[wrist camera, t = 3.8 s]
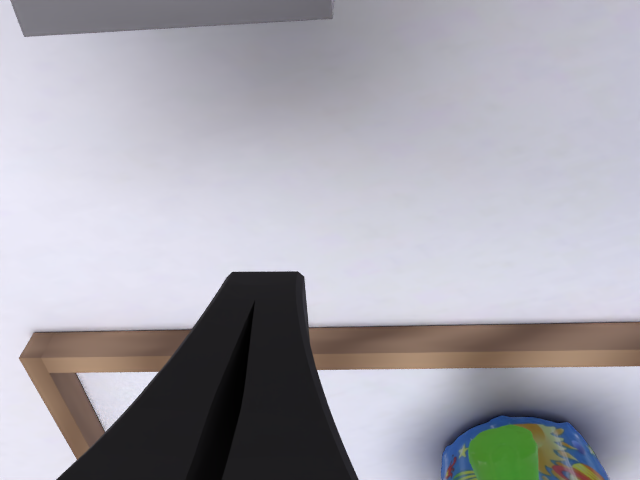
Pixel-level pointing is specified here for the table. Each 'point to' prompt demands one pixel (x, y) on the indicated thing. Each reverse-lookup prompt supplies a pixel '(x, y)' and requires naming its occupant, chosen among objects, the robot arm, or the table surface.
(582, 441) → the snack cup
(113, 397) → the table surface
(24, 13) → the button box
